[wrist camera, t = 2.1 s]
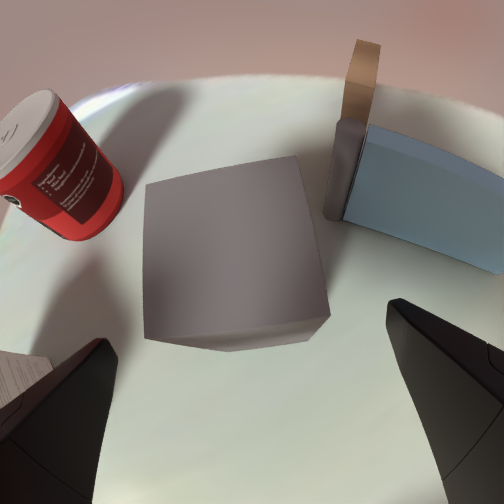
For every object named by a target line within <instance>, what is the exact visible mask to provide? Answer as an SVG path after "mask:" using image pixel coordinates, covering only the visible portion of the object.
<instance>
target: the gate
mask: <svg viewBox="0 0 504 504" xmlns="http://www.w3.org/2000/svg"><path fill="white" fill-rule="evenodd" d="M365 133H366V128H365V126H364V125H363V123H362V122H360V121H359V120H357V119H354V118H342V119H340V120H339V121H338V122H337V125H336V133H335V140H334V147H333V154H332V161H331V167H330V174H329V180H328V186H327V192H326V198H325V204H324V209H323V213H324V215H325V217H326V218H327V219H329V220H332V221H336V220H339V219H340V218H341V217H342V215H343V212H344V209H345V205H346V202H347V199H348V195H349V192H350V188H351V185H352V182H353V178H354V174H355V171H356V167H357V164H358V160H359V156H360V152H361V148H362V145H363V141H364V137H365ZM343 220H345V221H349V222H352V223H355V224H358V225H361V226H364V227H367V228H371V229H374V230H377V231H380V232H383V233H386V234H389V235H392V236H395V237H398V238H400V239H403V240H406V241H409V242H412V243H415V244H418V245H420V246H423V247H426V248H429V249H432V250H434V251H437V252H440V253H442V254H445V255H448V256H450V257H453V258H456V259H458V260H461V261H463V262H466V263H469V264H471V265H474V266H476V267H479V268H481V269H484V270H486V271H489V272H491V273H494V274H496V275H500V274H501V273H503V272H504V179H503V178H502V177H500V176H498V175H496V174H494V173H492V172H490V171H488V170H486V169H484V168H482V167H480V166H478V165H476V164H473V163H471V162H469V161H467V160H465V159H463V158H460V157H458V156H456V155H453V154H451V153H449V152H446V151H444V150H442V149H439V148H437V147H434V146H432V145H429V144H426V143H424V142H421V141H418V140H416V139H413V138H410V137H407V136H404V135H402V134H399V133H396V132H393V131H390V130H387V129H383V128H380V127H377V126H374V125H370V124H369V128H368V132H367V135H366V139H365V143H364V147H363V151H362V154H361V158H360V162H359V165H358V169H357V172H356V176H355V179H354V183H353V186H352V190H351V193H350V196H349V200H348V203H347V206H346V210H345V214H344V218H343Z"/></svg>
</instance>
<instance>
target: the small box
mask: <svg viewBox="0 0 504 504" xmlns="http://www.w3.org/2000/svg"><path fill="white" fill-rule="evenodd" d="M52 370H53V368H52V365H51V363H50V361H49V359H48V358H47V357H40V356H33V355H25V354H18V353H12V352H6V351H0V408H2V407H3V406H5V405H6V404H8V403H9V402H11V401H12V400H13V399H15V398H16V397H17V396H19V395H20V394H21V393H23V392H24V391H26V390H27V389H28V388H29V387H31V386H32V385H33V384H34V383H36V382H37V381H38V380H40V379H41V378H42V377H44V376H45V375H46V374H48V373H49V372H50V371H52Z"/></svg>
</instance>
